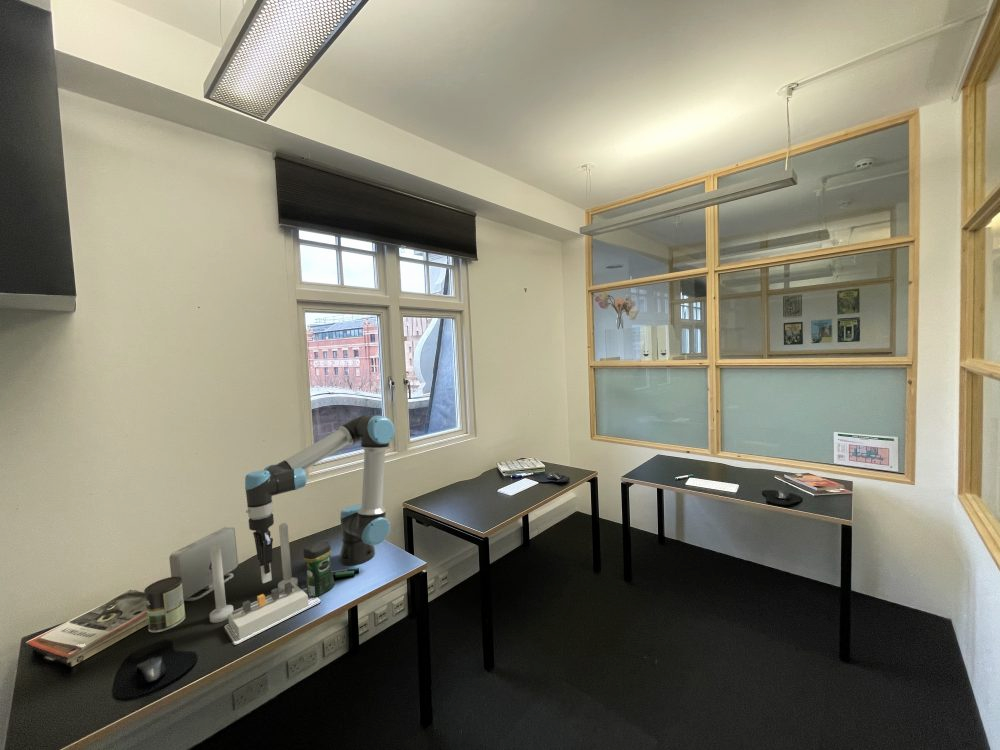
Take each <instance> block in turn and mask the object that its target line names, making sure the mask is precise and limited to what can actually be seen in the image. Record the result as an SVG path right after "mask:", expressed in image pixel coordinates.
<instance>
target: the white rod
mask: <svg viewBox="0 0 1000 750" xmlns="http://www.w3.org/2000/svg"><path fill="white" fill-rule="evenodd" d="M278 529H279V530H278V531H279V542H280V543H279V544H280V553H281V554H280V556H281V568H282V580H281V581H279V582H278V584H277V589H278V590H279V591H280V590H283V589H285V584H287V583H289V582H290V583H291V584H292V585H294V584H295V585H296V586H298V587H299V580H298V578H297V577H293V576H292V565H291V564H292V563H291V562H292V561H291V550H290V540H289V537H290V536H289V527H288V524H287V523H286V522H282V523H281V524H279V526H278Z"/></svg>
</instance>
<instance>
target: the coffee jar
mask: <svg viewBox="0 0 1000 750" xmlns="http://www.w3.org/2000/svg"><path fill="white" fill-rule="evenodd" d="M331 553H332V548H331V544H330V542H329V541H328V540H324V539H321V540H320V541H318V542H316V543H313V544H311V545H309V546H307V547H304V548H303V560H304V562H305V565H306V594H307V595H309V596H310V597H319V596H322V595H324V594H325V593H326V592H327V593H328V592H329V591H330V590H331V589H333V588H334V587H335V579H334V578H335V577H334V574H333V569H332V564H331Z"/></svg>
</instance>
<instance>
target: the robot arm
mask: <svg viewBox="0 0 1000 750" xmlns="http://www.w3.org/2000/svg"><path fill="white" fill-rule="evenodd" d="M395 432H396V431H395V425H394V423H393V422H392V421H391V419H390V418H388V417H386V416H383V415H371V414H362V415H360V416H357V417H354V418H353V419H351V420H349V421H347V422H345V423H344V424H342V425H341V426H339V427H338V430H336V431H334V432H333V433H331V434H329V435H326V437H324V438H322V439H320V440H318V441H316V442H315V443H313V444H311V445H310V446H308V447H306V448H304V449H303V450H300V451H299V452H297V453H295V454H292V455H291V456H290V457H288V458H286V459H285V460H282V461H280V462H279V463H277V464H270V465H267V466H266V467H265V468H264V469H262V470H256V471H252V472H250V473H248V474H246V475H245V477H244V489H245V495H246V503H247V505H246V506H247V509H246V511H245V513H247V516H248V518H249V519H248V528H249V530H250V531H253V532H252V535H253V539H254V544H255V550H256V555H257V560H258V561H259V567H260V574H261V575H260V576H261V577H260V578H261V583H262V584H266V583H268V582H271V581H272V580H273V578H272V568H271V567H272V566H271V564H272V563H273V541H274V538H273V537H271V531H270V530H269V528H270V527H272V526H273V525H274V524H275V523H274V522H275V519H274V514H273V513H274V509H273V508H274V507H273V498H272V497H274V496H277V495H281V494H285V493H288V492H292V491H297V490H299V489H302V488H304V487H305V486H307V482H308V478H307V473H306V470H307V469H309V468H310V467H312V466H314V465H315V464H317V463H319V462H321V461H322V460H324V459H325V458H327V457H329V456H330V455H332V454H333V453H336V452H338V451H339V450H340V449H343V448H344V447H346V446H352V445H353V444H355V443H358V442H361V443H360V448H361V449H362V450H363V451H364V456H363V457H364V459H363V470H362V471H363V474H362V492H361V493H362V495H361V503H360V504H355V505H350V506H348V507H345V508H343V509H342V510H341V511H340V513H339V514H340V515H339V516H340V517H339V519H340V528H341V539H342V545H341V549H340V552H339V563H340V564H342V565H346V566H355V565H360V564H361V565H362V564H364V563H366V562H368V561H370V560H371V559H373V558H374V557H375V555H376V549H375V546H376V545H379V544H381V543H382V542H384V540H385V539H386V538H387V537H388V535H389V533H390V531H391V525H390V524H391V523H390V521H389V520H388V519H387V517H386V515H387V514H386V508H385V507H384V506H383V504H384V503H383V502H384V501H383V499H384V481H385V480H384V478H385V463H386V462H385V460H386V456H385V455H386V451H387V450H388V448H389V447H390V442H392V439H393V438H394V436H395Z"/></svg>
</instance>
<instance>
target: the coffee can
mask: <svg viewBox="0 0 1000 750" xmlns="http://www.w3.org/2000/svg"><path fill="white" fill-rule="evenodd" d="M143 592H144V597H145V608H146V614H147V615H146V616H147V617H146V618H147V624H148V625H147V626H148V627H147V628H148V629H147V630H148V632H150V633H153V634H154V633H161V632H165V631H167V630H170V629H173V628H174V627H176V626H178V625H180V624H181V623H182V622H184V620H185V619H186V611H185V601H184V598H183V588H182V578H181V577H171V576H169V577H165V578H162V579H159V580H157V581H155V582H152V583H151V584H149V585H148V586H147V587H145V589H144V590H143Z"/></svg>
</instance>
